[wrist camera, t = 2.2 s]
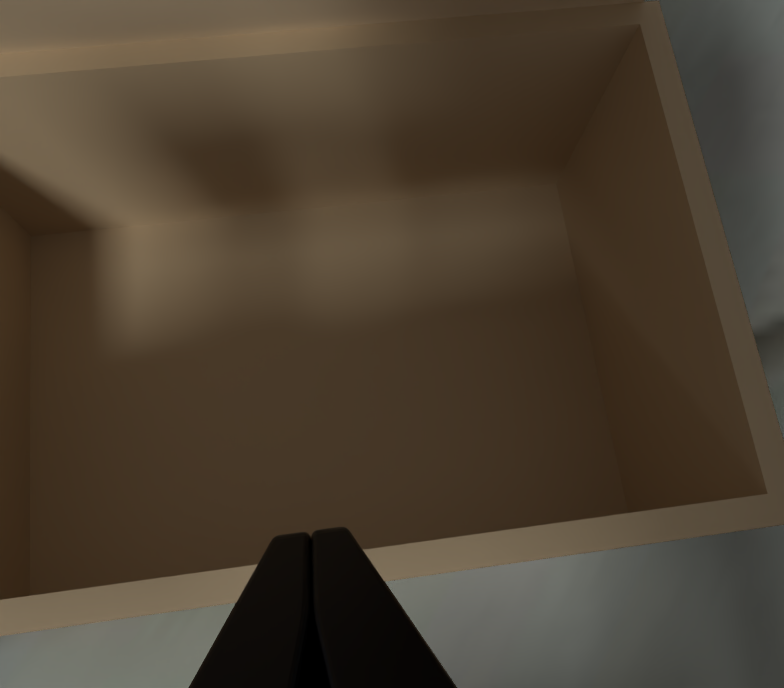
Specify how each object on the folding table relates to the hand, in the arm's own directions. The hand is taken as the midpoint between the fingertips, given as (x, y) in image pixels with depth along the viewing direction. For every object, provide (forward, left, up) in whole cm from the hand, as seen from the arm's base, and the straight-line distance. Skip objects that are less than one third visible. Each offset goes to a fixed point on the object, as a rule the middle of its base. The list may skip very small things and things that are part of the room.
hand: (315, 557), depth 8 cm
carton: (+4, -3, -13) cm, 14 cm away
